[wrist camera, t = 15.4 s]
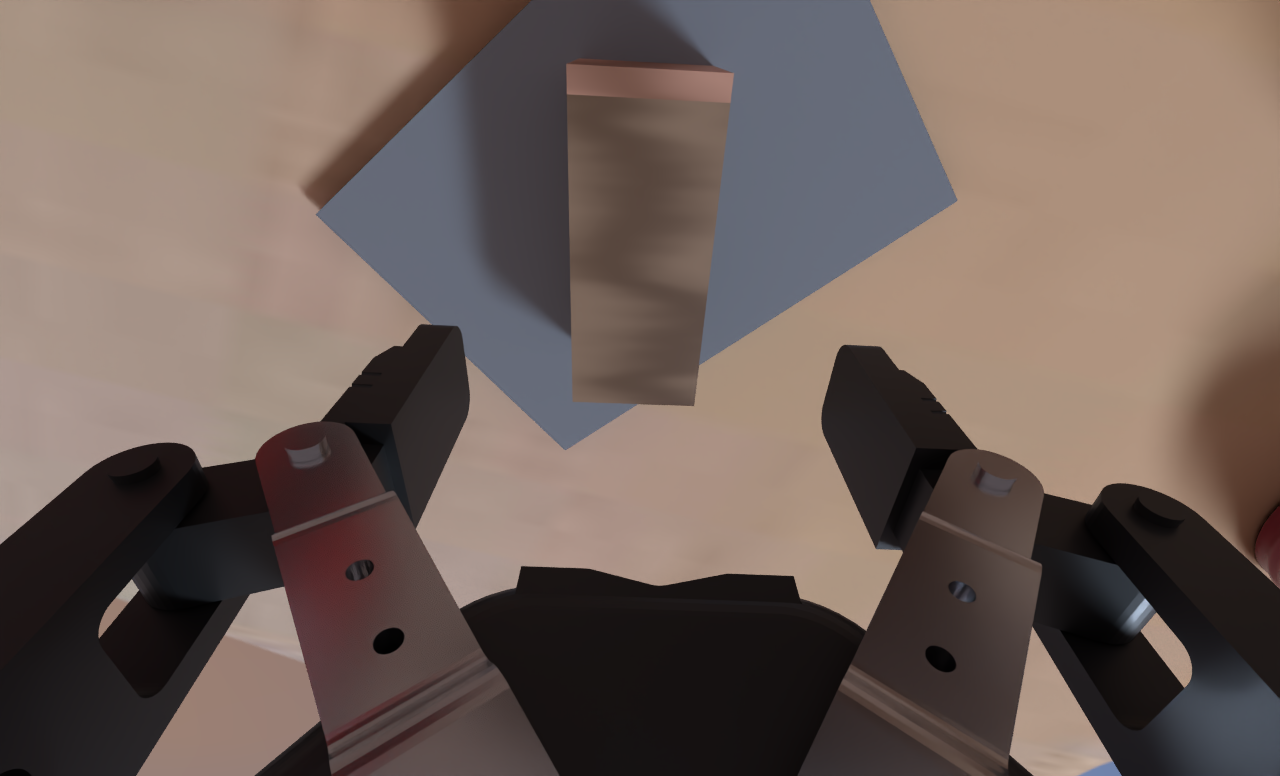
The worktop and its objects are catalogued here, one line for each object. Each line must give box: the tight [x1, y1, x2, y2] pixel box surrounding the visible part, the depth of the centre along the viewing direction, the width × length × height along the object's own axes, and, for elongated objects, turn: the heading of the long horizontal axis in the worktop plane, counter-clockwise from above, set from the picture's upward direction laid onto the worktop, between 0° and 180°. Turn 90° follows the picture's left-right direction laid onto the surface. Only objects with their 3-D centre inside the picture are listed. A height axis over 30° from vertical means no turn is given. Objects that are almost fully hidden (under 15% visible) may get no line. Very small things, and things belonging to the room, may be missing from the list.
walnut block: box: [566, 58, 734, 406], centre depth 22 cm, size 5×5×12 cm
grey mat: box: [316, 0, 957, 450], centre depth 24 cm, size 22×16×1 cm
